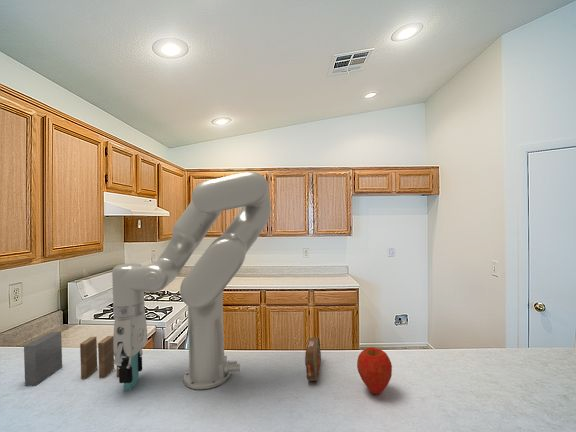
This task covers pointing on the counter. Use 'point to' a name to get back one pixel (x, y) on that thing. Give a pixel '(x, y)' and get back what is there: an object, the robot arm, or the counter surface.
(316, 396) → the counter surface
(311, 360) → the tin
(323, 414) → the counter surface
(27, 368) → the block
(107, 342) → the domino
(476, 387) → the counter surface
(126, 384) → the domino
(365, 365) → the apple
